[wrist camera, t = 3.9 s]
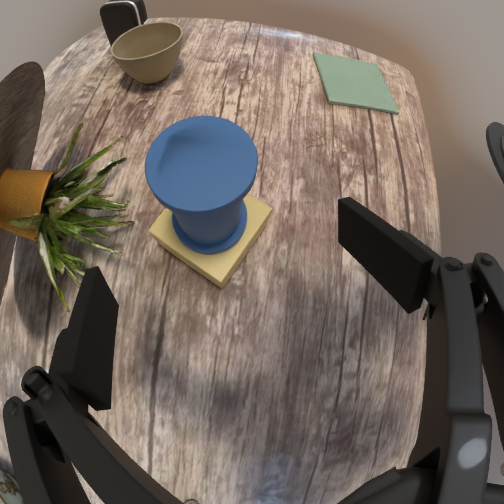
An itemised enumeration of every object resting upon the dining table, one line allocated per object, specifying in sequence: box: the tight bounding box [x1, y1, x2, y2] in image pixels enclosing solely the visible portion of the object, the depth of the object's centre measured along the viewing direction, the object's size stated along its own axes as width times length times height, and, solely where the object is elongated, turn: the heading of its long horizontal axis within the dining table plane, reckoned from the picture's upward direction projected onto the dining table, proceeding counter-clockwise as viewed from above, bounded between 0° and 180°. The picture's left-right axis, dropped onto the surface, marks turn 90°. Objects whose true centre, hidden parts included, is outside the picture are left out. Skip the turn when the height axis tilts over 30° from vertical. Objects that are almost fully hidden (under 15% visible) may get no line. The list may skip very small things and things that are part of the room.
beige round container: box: [111, 22, 183, 84], centre depth 31 cm, size 10×10×7 cm
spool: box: [145, 116, 258, 255], centre depth 20 cm, size 6×6×10 cm
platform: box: [148, 194, 272, 289], centre depth 27 cm, size 8×8×5 cm
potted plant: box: [0, 62, 134, 312], centre depth 22 cm, size 25×18×25 cm
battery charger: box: [100, 0, 147, 47], centre depth 31 cm, size 7×4×11 cm, turn 71°
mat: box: [313, 52, 399, 115], centre depth 37 cm, size 12×12×1 cm
